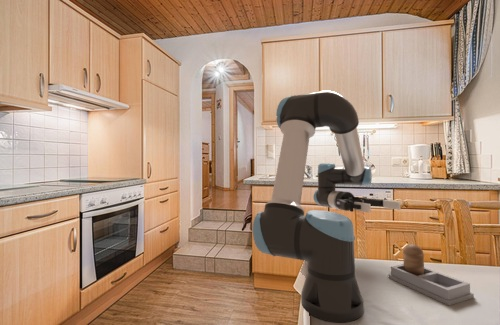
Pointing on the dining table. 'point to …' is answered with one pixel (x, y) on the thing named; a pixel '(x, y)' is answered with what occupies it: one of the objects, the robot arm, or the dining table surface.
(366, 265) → the dining table surface
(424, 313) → the dining table surface
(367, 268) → the dining table surface
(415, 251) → the wooden dome-top peg
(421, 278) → the two-compartment grey tray
